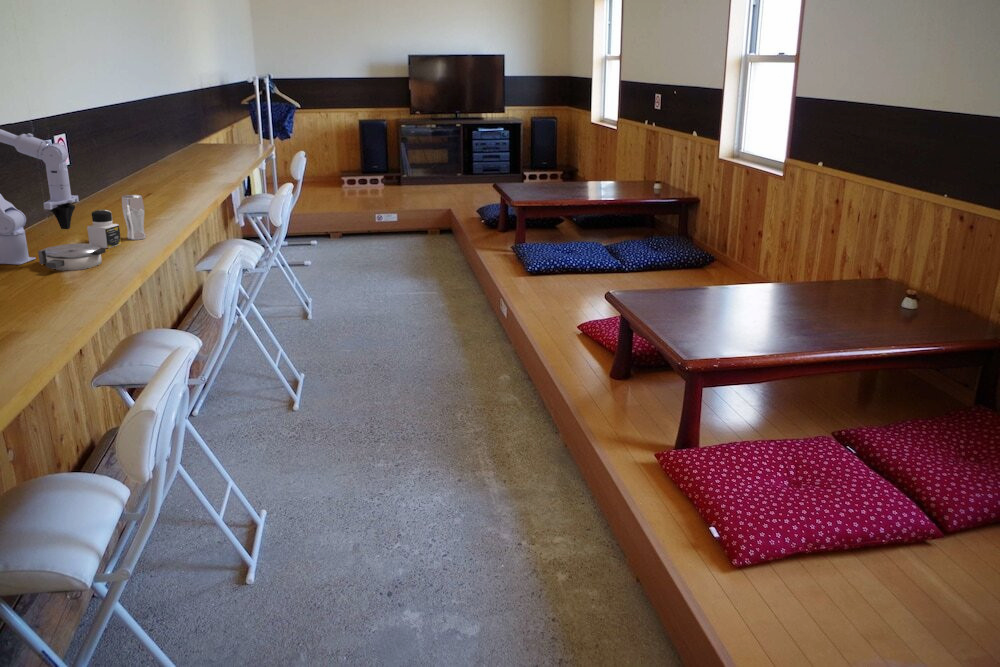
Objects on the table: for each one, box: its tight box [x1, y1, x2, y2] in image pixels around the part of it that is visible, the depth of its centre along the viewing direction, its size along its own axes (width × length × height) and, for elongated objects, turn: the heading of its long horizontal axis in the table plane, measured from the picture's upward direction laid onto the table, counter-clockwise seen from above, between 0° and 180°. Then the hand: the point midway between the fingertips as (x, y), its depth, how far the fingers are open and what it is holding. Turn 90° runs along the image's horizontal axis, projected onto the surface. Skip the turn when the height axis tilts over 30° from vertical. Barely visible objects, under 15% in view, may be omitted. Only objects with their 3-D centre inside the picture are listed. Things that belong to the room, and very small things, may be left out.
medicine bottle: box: [86, 209, 122, 249], centre depth 267 cm, size 7×7×12 cm
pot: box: [37, 246, 103, 271], centre depth 244 cm, size 17×23×4 cm
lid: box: [43, 242, 106, 258], centre depth 244 cm, size 17×15×1 cm
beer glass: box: [121, 194, 147, 241], centre depth 278 cm, size 7×7×15 cm
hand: (65, 228), depth 245 cm, fingers closed
